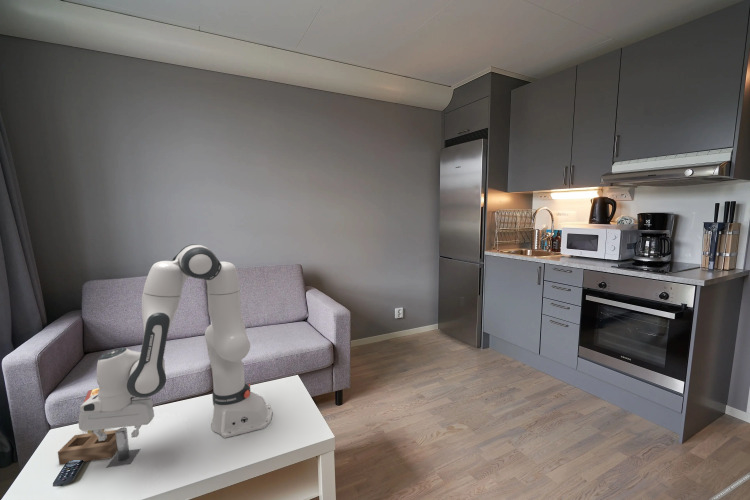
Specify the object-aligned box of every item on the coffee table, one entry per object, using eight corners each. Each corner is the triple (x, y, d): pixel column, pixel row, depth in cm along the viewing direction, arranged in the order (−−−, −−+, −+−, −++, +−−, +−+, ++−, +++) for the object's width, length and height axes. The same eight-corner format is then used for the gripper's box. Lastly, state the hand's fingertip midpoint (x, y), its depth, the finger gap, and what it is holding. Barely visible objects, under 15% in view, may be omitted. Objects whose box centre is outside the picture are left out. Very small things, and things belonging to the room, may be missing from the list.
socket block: (125, 441, 116) (123, 429, 115) (112, 458, 108) (110, 444, 108) (76, 448, 113) (74, 435, 112) (59, 465, 105) (57, 451, 104)
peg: (131, 453, 110) (128, 426, 109) (126, 460, 107) (123, 432, 106) (121, 455, 109) (118, 428, 108) (116, 461, 106) (113, 434, 105)
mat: (141, 449, 112) (140, 448, 112) (130, 465, 105) (130, 464, 105) (118, 452, 111) (118, 451, 111) (105, 468, 104) (105, 467, 104)
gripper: (156, 390, 110) (158, 428, 112) (86, 396, 106) (90, 435, 108) (147, 400, 104) (149, 440, 106) (73, 407, 100) (77, 448, 102)
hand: (119, 438), depth 107 cm, fingers open, 8 cm apart
